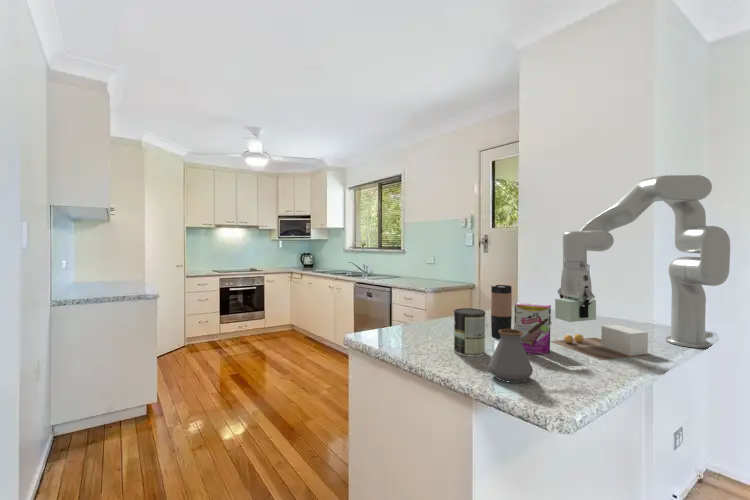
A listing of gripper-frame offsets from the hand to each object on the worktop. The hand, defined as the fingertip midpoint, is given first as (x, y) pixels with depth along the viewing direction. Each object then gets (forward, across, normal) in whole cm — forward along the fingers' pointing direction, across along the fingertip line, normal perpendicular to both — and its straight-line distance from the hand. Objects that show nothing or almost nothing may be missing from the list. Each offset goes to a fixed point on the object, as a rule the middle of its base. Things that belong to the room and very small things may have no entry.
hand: (575, 315), depth 134 cm
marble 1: (+8, 0, +3) cm, 9 cm away
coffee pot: (+11, -20, +37) cm, 43 cm away
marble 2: (+8, 0, -2) cm, 9 cm away
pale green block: (+1, 0, 0) cm, 1 cm away
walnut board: (+11, -7, -3) cm, 13 cm away
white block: (+10, -11, -9) cm, 18 cm away
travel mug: (+11, +18, +19) cm, 28 cm away
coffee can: (+10, +3, +41) cm, 42 cm away
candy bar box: (+11, -3, +21) cm, 24 cm away
